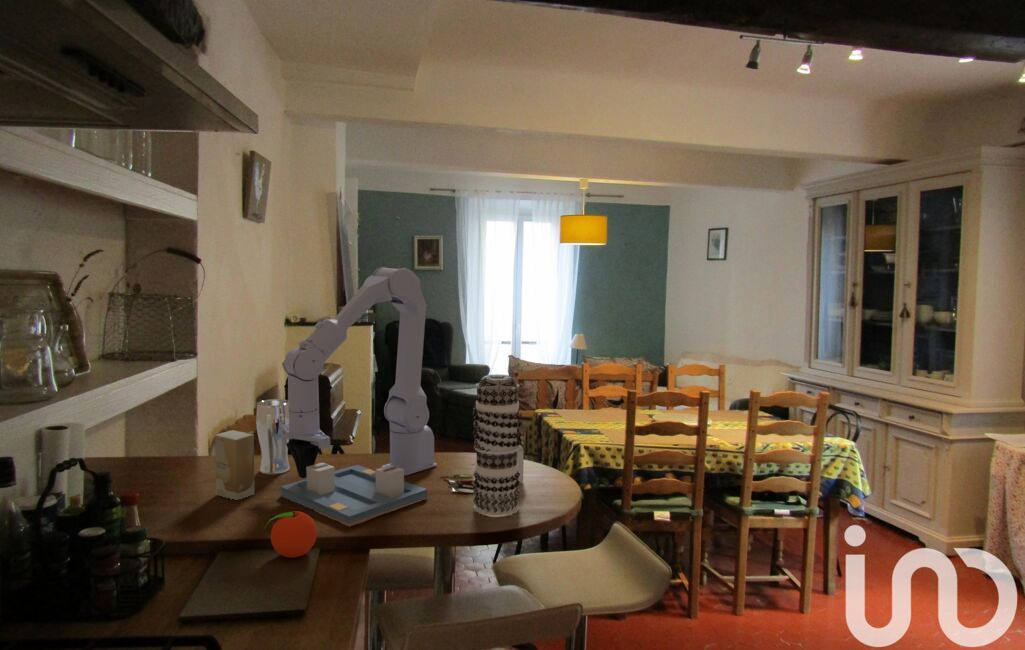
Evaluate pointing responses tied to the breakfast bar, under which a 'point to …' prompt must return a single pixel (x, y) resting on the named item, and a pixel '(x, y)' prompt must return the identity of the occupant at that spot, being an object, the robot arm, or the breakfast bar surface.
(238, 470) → the skincare box
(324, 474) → the white striped block
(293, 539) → the clementine
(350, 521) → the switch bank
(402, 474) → the white block
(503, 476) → the decorative candle
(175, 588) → the breakfast bar surface
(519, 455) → the white rounded block
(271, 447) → the beer glass
